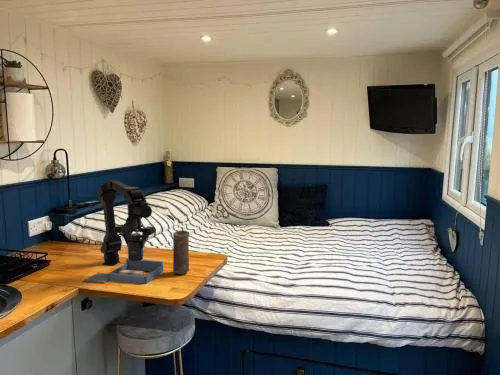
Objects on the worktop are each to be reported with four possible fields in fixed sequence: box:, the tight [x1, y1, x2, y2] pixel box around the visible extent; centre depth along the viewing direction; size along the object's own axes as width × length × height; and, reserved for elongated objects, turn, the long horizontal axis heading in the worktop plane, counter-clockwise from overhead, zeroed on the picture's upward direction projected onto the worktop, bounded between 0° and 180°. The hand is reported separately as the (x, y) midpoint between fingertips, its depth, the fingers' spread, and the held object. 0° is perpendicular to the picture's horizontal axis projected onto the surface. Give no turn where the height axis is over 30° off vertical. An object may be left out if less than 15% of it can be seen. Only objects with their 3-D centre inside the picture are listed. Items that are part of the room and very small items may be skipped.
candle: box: [172, 230, 190, 275], centre depth 179 cm, size 8×7×20 cm
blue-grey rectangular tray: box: [108, 258, 164, 285], centre depth 177 cm, size 19×16×5 cm
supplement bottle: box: [127, 232, 144, 261], centre depth 177 cm, size 7×7×12 cm
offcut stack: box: [119, 269, 145, 276], centre depth 172 cm, size 13×3×4 cm, turn 76°
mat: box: [83, 272, 110, 284], centre depth 174 cm, size 10×10×1 cm
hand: (135, 247), depth 178 cm, fingers closed on supplement bottle, 7 cm apart
